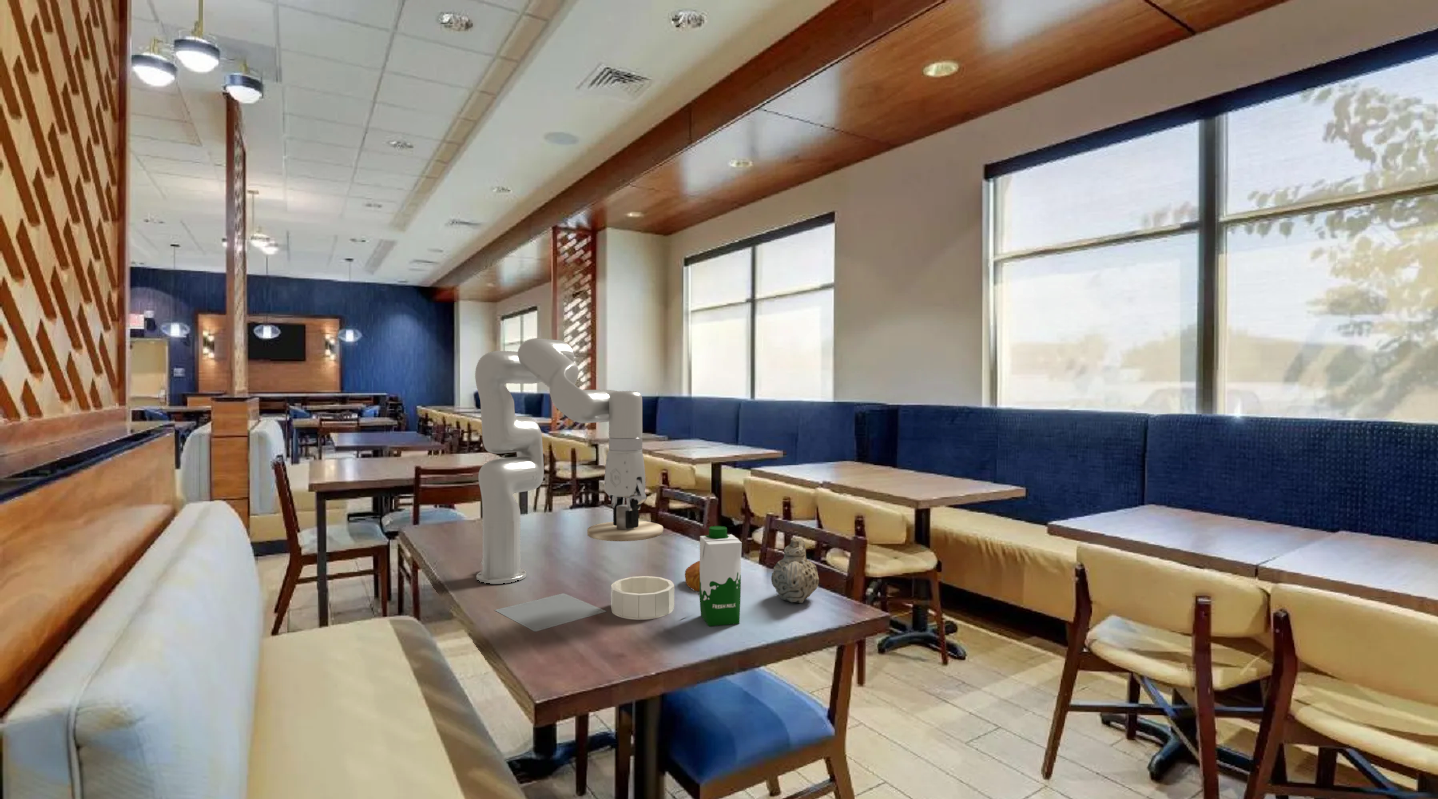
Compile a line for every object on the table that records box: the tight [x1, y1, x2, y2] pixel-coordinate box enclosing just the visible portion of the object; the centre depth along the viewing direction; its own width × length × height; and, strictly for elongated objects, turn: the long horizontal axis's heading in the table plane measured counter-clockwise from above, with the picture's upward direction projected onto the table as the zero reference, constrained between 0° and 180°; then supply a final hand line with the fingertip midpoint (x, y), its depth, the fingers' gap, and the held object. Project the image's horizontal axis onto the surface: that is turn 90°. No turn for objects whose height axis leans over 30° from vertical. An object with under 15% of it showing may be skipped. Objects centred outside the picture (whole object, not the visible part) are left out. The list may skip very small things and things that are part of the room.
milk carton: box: [698, 525, 743, 627], centre depth 150 cm, size 9×9×20 cm
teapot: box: [770, 536, 820, 604], centre depth 165 cm, size 21×12×15 cm, turn 168°
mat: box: [494, 592, 608, 633], centre depth 154 cm, size 18×18×1 cm
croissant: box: [684, 560, 700, 593], centre depth 176 cm, size 14×16×8 cm
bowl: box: [610, 575, 675, 621], centre depth 155 cm, size 14×14×6 cm
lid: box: [586, 504, 664, 542], centre depth 154 cm, size 17×17×6 cm
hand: (625, 525), depth 154 cm, fingers closed on lid, 4 cm apart
